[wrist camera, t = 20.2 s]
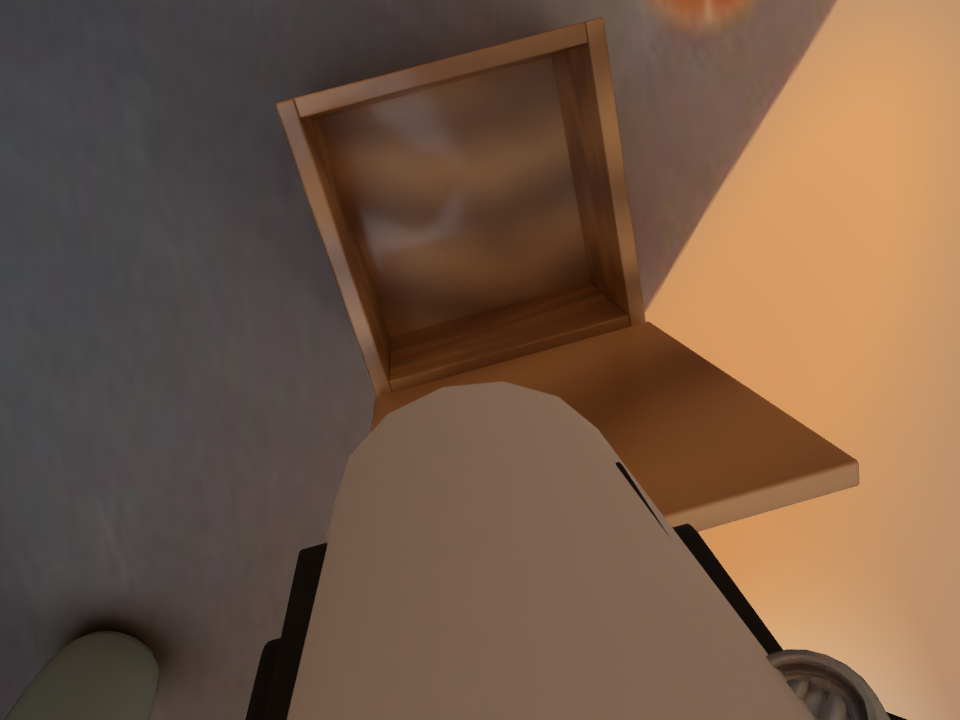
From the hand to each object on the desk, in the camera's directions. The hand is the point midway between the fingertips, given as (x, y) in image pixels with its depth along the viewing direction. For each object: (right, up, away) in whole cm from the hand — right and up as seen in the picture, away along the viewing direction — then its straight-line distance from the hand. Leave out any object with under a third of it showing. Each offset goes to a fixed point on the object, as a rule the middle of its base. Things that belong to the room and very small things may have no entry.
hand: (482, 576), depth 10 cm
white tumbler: (0, +1, +2) cm, 2 cm away
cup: (-26, -17, +33) cm, 45 cm away
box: (-1, +13, +24) cm, 27 cm away
